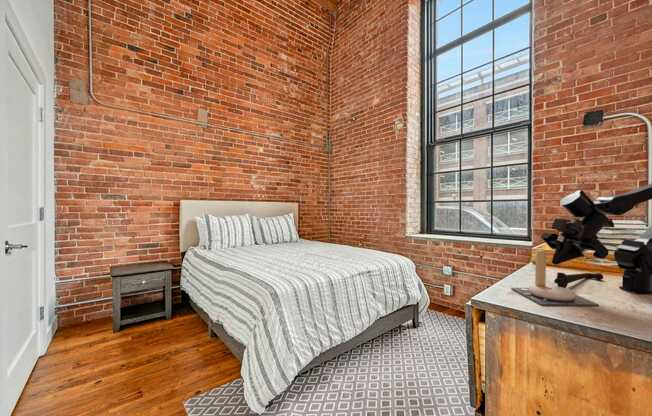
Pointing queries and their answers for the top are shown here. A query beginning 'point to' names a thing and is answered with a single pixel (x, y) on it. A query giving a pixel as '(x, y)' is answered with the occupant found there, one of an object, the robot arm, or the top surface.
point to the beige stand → (540, 282)
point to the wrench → (574, 278)
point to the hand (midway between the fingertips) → (553, 263)
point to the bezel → (549, 302)
